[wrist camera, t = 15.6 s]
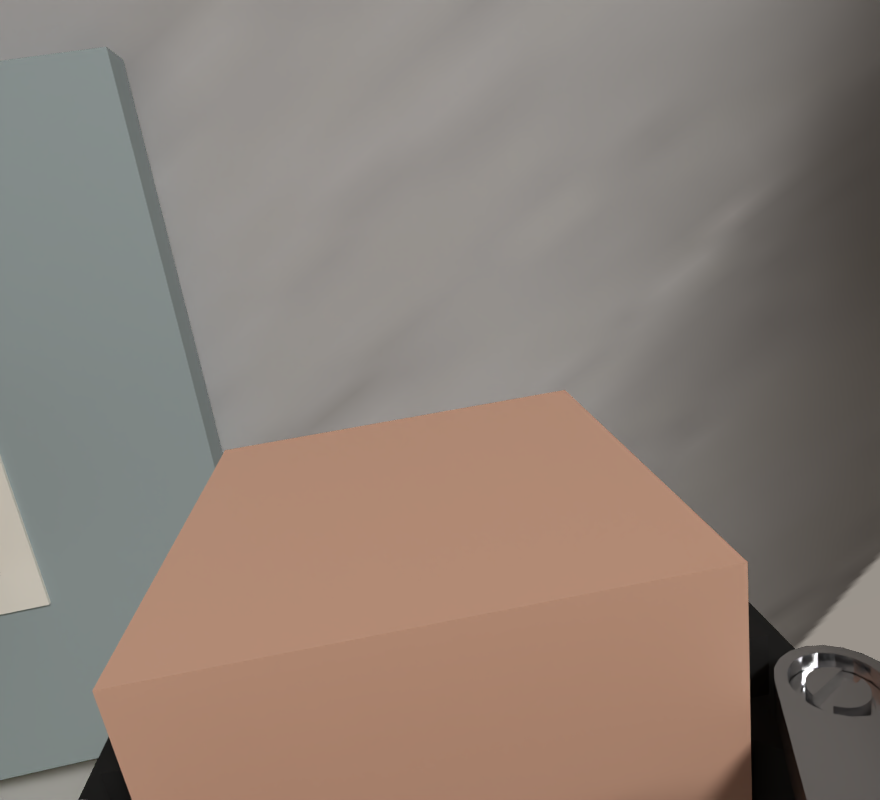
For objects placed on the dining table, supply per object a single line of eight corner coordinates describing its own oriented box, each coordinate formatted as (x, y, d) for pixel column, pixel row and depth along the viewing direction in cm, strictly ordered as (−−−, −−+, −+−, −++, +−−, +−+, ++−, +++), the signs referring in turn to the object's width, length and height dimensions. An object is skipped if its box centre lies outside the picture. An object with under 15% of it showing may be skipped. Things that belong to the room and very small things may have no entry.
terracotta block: (564, 390, 12) (746, 561, 6) (592, 670, 14) (755, 1003, 8) (225, 450, 12) (92, 691, 6) (298, 730, 13) (249, 1124, 8)
